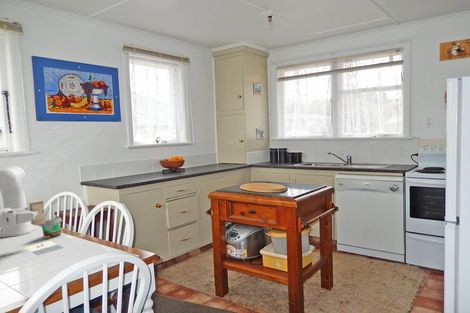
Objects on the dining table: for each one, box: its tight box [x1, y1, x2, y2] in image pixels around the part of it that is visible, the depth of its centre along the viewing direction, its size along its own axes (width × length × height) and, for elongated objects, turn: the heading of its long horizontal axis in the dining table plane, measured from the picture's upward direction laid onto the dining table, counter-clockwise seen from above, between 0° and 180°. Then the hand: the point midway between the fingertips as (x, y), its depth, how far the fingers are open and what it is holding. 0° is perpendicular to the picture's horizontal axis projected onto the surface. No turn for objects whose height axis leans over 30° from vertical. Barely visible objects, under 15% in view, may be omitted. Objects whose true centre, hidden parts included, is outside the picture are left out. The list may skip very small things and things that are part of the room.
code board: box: [24, 240, 65, 256], centre depth 169 cm, size 19×12×1 cm, turn 48°
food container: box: [40, 215, 63, 240], centre depth 187 cm, size 12×6×10 cm, turn 168°
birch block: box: [28, 199, 46, 226], centre depth 170 cm, size 5×5×11 cm
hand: (38, 211), depth 171 cm, fingers closed on birch block, 5 cm apart
